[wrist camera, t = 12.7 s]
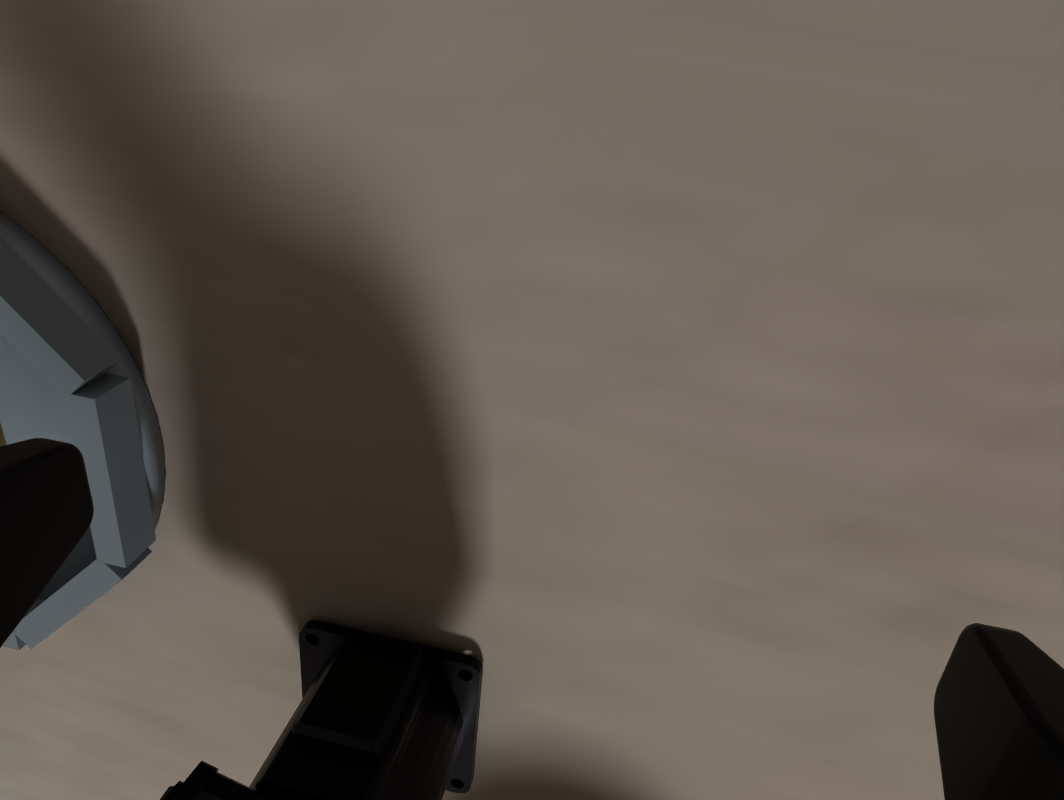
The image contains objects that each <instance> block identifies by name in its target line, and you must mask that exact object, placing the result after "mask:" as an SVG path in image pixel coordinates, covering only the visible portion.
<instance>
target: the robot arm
mask: <svg viewBox="0 0 1064 800" xmlns="http://www.w3.org/2000/svg"><path fill="white" fill-rule="evenodd" d="M93 513H94V506H93V501H92V496H91V491H90V486H89V482H88V477H87V472H86V468H85V463H84V458H83V455H82V453H81V452H80V450H79V449H78V448H77V447H76V446H74V445H73V444H70V443H66V442H61V441H56V440H51V439H46V438H33V439H28V440H24V441H20V442H16V443H12V444H8V445H4V446H0V647H1V646H2V645H3V644H4V642H5V641H6V640H7V638H8V637H9V636H10V635H11V633H12V632H13V631H14V629H15V628H16V627H17V625H18V624H19V623H20V621H21V620H22V619H23V617H24V616H25V615H26V613H27V612H28V611H29V609H30V608H31V607H32V605H33V604H34V602H35V601H36V600H37V598H38V597H39V596H40V594H41V593H42V592H43V590H44V589H45V588H46V586H47V585H48V584H49V582H50V581H51V579H52V578H53V577H54V575H55V574H56V573H57V571H58V570H59V569H60V567H61V566H62V565H63V563H64V562H65V561H66V559H67V558H68V556H69V555H70V554H71V552H72V551H73V550H74V548H75V547H76V546H77V544H78V543H79V542H80V540H81V539H82V538H83V536H84V535H85V533H86V532H87V530H88V529H89V527H90V524H91V522H92V519H93ZM315 635H316V636H315ZM299 645H300V662H301V679H302V696H303V699H302V701H301V703H300V704H299V706H298V708H297V709H296V711H295V712H294V714H293V716H292V717H291V719H290V721H289V722H288V724H287V726H286V727H285V729H284V731H283V732H282V734H281V735H280V737H279V739H278V740H277V742H276V744H275V745H274V747H273V749H272V750H271V752H270V754H269V755H268V757H267V759H266V760H265V762H264V763H263V765H262V767H261V768H260V770H259V772H258V773H257V775H256V777H255V778H254V780H253V782H252V783H251V785H250V786H249V787H247V786H245V785H243V784H241V783H239V782H237V781H235V780H233V779H230V778H228V777H226V776H224V775H222V774H220V773H218V768H216V767H214V766H212V765H210V764H208V763H205V762H203V761H201V762H200V763H199V764H198V766H197V767H196V768H195V769H194V770H193V772H192V773H191V774H190V775H189V777H188V778H187V779H186V780H185V781H184V783H183V782H181V781H179V782H178V783H177V784H176V785H175V786H170V787H169V788H168V789H167V791H166V792H165V793H164V795H163V796H162V798H161V799H160V800H442V798H443V795H444V792H445V790H448V791H452V792H456V793H466V792H467V791H469V789H470V787H471V784H472V781H473V777H474V765H475V754H476V742H477V731H478V719H479V708H480V696H481V685H482V674H483V668H482V665H481V663H480V662H479V661H478V660H477V659H476V658H474V657H471V656H468V655H464V654H459V653H455V652H451V651H446V650H442V649H438V648H434V647H429V646H425V645H421V644H416V643H412V642H408V641H403V640H399V639H395V638H390V637H386V636H382V635H377V634H373V633H369V632H364V631H360V630H356V629H351V628H347V627H343V626H339V625H334V624H330V623H326V622H321V621H316V620H311V621H308V622H307V623H306V624H305V625H304V627H303V628H302V630H301V631H300V634H299ZM465 670H468V671H470V672H467V671H465ZM934 717H935V725H936V733H937V741H938V749H939V757H940V765H941V773H942V781H943V789H944V797H945V800H1064V669H1063V668H1062V667H1061V666H1060V665H1059V664H1057V663H1056V662H1055V661H1054V660H1053V659H1052V658H1050V657H1049V656H1048V655H1047V654H1046V653H1044V652H1043V651H1042V650H1041V649H1040V648H1039V647H1037V646H1036V645H1035V644H1034V643H1033V642H1031V641H1030V640H1029V639H1028V638H1027V637H1025V636H1024V635H1023V634H1021V633H1019V632H1017V631H1014V630H1009V629H1004V628H999V627H994V626H989V625H984V624H979V623H974V624H971V625H968V626H967V627H966V628H965V629H964V630H963V631H962V633H961V634H960V636H959V638H958V640H957V643H956V645H955V647H954V649H953V652H952V654H951V656H950V658H949V661H948V663H947V665H946V667H945V670H944V672H943V674H942V676H941V679H940V681H939V683H938V686H937V688H936V693H935V698H934Z"/></svg>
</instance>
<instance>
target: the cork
mask: <svg viewBox="0 0 1064 800" xmlns="http://www.w3.org/2000/svg"><path fill="white" fill-rule="evenodd" d="M4 445H6V441H5V438H4V434H3V431H2V427H1V424H0V446H4Z"/></svg>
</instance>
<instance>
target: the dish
mask: <svg viewBox="0 0 1064 800" xmlns="http://www.w3.org/2000/svg"><path fill="white" fill-rule="evenodd" d="M0 424H1V427H2V431H3V434H4V438H5V441H6V445H8V444H12V443H16V442H20V441H24V440H28V439H33V438H46V439H51V440H56V441H61V442H66V443H70V444H73V445H74V446H76V447H77V448H78V449H79V450H80V452H81V453H82V455H83V458H84V463H85V468H86V472H87V477H88V482H89V486H90V491H91V496H92V501H93V506H94V513H93V519H92V522H91V524H90V527H89V529H88V530H87V532H86V533H85V535H84V536H83V538H82V539H81V540H80V542H79V543H78V544H77V546H76V547H75V548H74V550H73V551H72V552H71V554H70V555H69V556H68V558H67V559H66V561H65V562H64V563H63V565H62V566H61V567H60V569H59V570H58V571H57V573H56V574H55V575H54V577H53V578H52V579H51V581H50V582H49V584H48V585H47V586H46V588H45V589H44V590H43V592H42V593H41V594H40V596H39V597H38V598H37V600H36V601H35V602H34V604H33V605H32V607H31V608H30V609H29V611H28V612H27V613H26V615H25V616H24V617H23V619H22V620H21V621H20V623H19V624H18V625H17V627H16V628H15V629H14V631H13V632H12V633H11V635H10V636H9V637H8V638H7V640H6V641H5V642H4V644H3V645H2V646H5V647H9V648H13V649H17V650H20V649H21V648H22V647H23V646H24V645H28V646H29V647H30V648H31V649H32V648H33V647H34V646H36V645H37V644H38V643H40V642H41V641H42V640H44V639H45V638H46V637H48V636H49V635H50V634H52V633H53V632H54V631H55V630H57V629H58V628H59V627H61V626H62V625H63V624H65V623H66V622H67V621H69V620H70V619H71V618H73V617H74V616H75V615H76V614H78V613H79V612H80V611H82V610H83V609H84V608H86V607H87V606H88V605H90V604H91V603H92V602H94V601H95V600H96V599H97V598H99V597H100V596H101V595H103V594H104V593H105V592H107V591H108V590H109V589H111V588H112V587H113V586H115V585H116V584H117V583H118V582H120V581H121V580H122V579H123V578H124V577H125V576H127V575H128V574H129V573H130V572H131V571H132V570H133V569H134V568H135V567H136V566H137V565H138V564H139V563H140V562H141V561H142V560H144V559H145V558H146V557H147V556H148V555H149V554H150V553H151V552H152V551H151V550H150V549H149V548H148V547H149V546H150V545H151V544H152V543H153V542H154V541H155V540H156V537H155V531H154V530H155V528H156V525H157V523H158V521H159V517H160V513H161V509H162V504H163V500H164V490H165V476H166V473H165V460H164V448H163V443H162V438H161V433H160V428H159V424H158V419H157V416H156V413H155V410H154V407H153V404H152V401H151V398H150V395H149V392H148V390H147V387H146V385H145V383H144V381H143V379H142V377H141V374H140V372H139V370H138V368H137V366H136V364H135V361H134V359H133V358H132V356H131V354H130V352H129V351H128V349H127V347H126V346H125V344H124V342H123V341H122V339H121V337H120V336H119V334H118V332H117V330H116V329H115V327H114V326H113V325H112V323H111V322H110V320H109V319H108V318H107V316H106V315H105V314H104V312H103V311H102V309H101V308H100V307H99V305H98V304H97V303H96V301H95V300H94V298H93V297H92V296H91V295H90V294H89V293H88V292H87V290H86V289H85V288H84V287H83V286H82V285H81V284H80V282H79V281H78V280H77V279H76V278H75V277H74V276H73V274H72V273H71V272H70V271H69V270H68V269H67V268H66V267H65V266H64V265H63V264H62V263H61V262H60V261H59V260H58V259H57V258H55V257H54V256H53V255H52V254H51V253H50V252H49V251H48V250H47V249H46V248H45V247H44V246H43V245H42V244H41V243H39V242H38V241H37V240H36V239H34V238H33V237H32V236H31V235H29V234H28V233H27V232H26V231H24V230H23V229H22V228H20V227H19V226H18V225H17V224H15V223H14V222H13V221H12V220H10V219H9V218H7V217H6V216H4V215H2V214H1V213H0Z"/></svg>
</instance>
